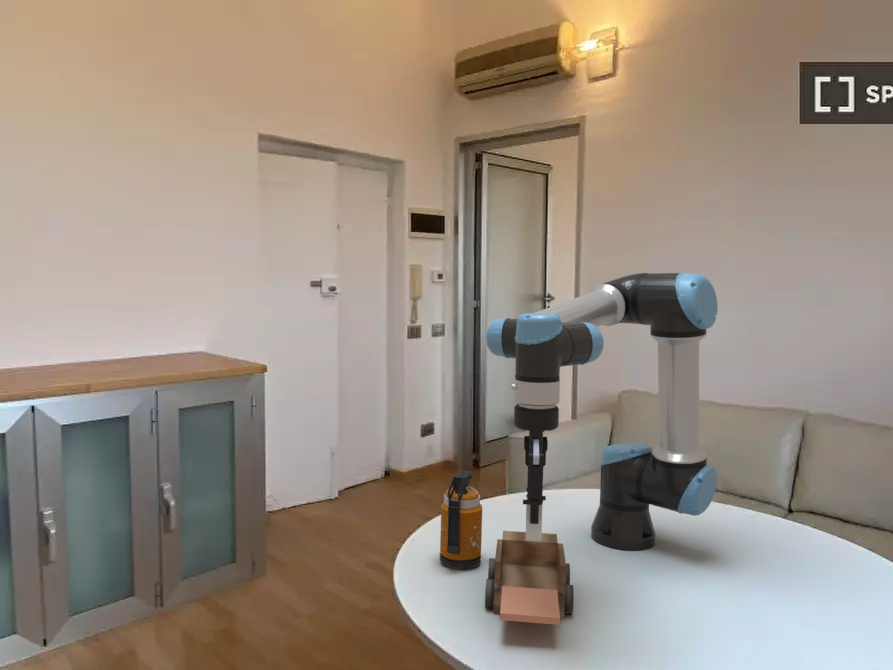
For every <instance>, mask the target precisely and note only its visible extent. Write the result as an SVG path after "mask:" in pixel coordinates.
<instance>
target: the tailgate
mask: <svg viewBox="0 0 893 670" xmlns="http://www.w3.org/2000/svg"><path fill="white" fill-rule="evenodd" d="M499 621H507V622H517V623H518V622H520V623H532V624H546V625H556V626H557V625H558V626H560V625H561V619H560V613H559V603H558V593H557V590H550V589H536V588H523V587H510V586H502V596H501V609H500V614H499Z"/></svg>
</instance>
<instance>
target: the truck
mask: <svg viewBox="0 0 893 670" xmlns="http://www.w3.org/2000/svg"><path fill="white" fill-rule="evenodd" d="M494 557H495V558H494ZM494 557H489V559H488V567H487V568H488V573H487V578H486V579H485V592H484V593H485V595H484V596H485V597H484V598H485V599H484V603H485V604H484V607H486V608H493V611H492V612H493V613H492V614H494V615H500V609H501V596H502V586H510V587H523V588H536V589H550V590H557V593H558V603H559V613H560V620H565V614H571V615H573V613H574V599H575V598H574V586H573V584H570V583H571V566H570V563H569V562H568V563H567V562H566V555H565V549H564V543H560V542H558V534H557V533H546V532H545V533H544V532H542V540H541V541H526V531H517V530H515V531H512V530H502V539H501V538H500V539H499V538H497V540H496V547H495V556H494Z"/></svg>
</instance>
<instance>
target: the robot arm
mask: <svg viewBox="0 0 893 670" xmlns="http://www.w3.org/2000/svg"><path fill="white" fill-rule="evenodd" d="M717 315H718V298H717V294H716V291H715V288H714V285H713V284H712V283H711V281H710V280H709V279H708V278H707V277H706V276H705V275H703V274H701V273H700V274H699V273H690V272H658V273H657V272H655V273H654V272H653V273H650V272H649V273H648V272H641V273H633V274H628V275H625V276H622V277H618V278H615V279H612V280H609V281H606V282H604V283H601V284H600V283H599V284H598V285H596V286H594V287H593V288H592V289H591V290H590V292H588V293H586V294H583V295H581V296H578V297H574V298H572V299H570V300H569V299H568V300H566V301H564V302H563V301H562V302H561V303H558V304H556V305H553V306H550V307H547V308H544V309H541V310H538V311H536V312H532V313H529V312H528V313H522V314H520V315H518V317H517V318H510V317H506V318H496V319H495V320H492V322H491V323H490V324H489V326H488V327H487V330H486V337H485V338H486V345H487V348H488V351H490V353H492V355H494V356H497V357H501V358H502V357H503V358H505V359H515V374H514V378H515V380H514V381H515V384H511V385H510V386H511V387H510V389H511V390H513V391H514V401H515V403H517V404H515V406H513V407H514V409H513V410H514V411H513V412H514V413H513V423H514V424H513V425H514V426H515V427H516V428H517V429H519V430H523V431H528V435H524V437H523V438H524V439H523V449H524V452H525V453H524V454H525V455H524V459H525V463H524V464H525V465H526V466H527V480H526V481H527V485H526V492H527V494H526V496H525V497H526V499H522V505H526V506H525V507H526V508H525V532H526V541H541V540H542V533H543V531H542V527H543V505H544V501H546V500H547V499H546V495H543V490H544V489H543V488H544V487H543V486H544V467H545V466H546V465H547V451H548V445H549V443H548V441H549V440H548V436H544V432H547V431H548V432H550V431H553V430H556V429H557V428H558V427H559V424H560V423H559V417H560V416H559V415H560V414H559V413H560V410H559V409H560V408H559V407H558V406H557V405H558V404H559V403H560V393H561V392H560V391H561V387H560V386H561V385H560V384H561V382H560V381H561V380H560V377H561V376H560V371H561V367H569V366H577V365H580V366H583V365H586V364H588V363H592V362H594V361H596V360H598V359H599V357H600V356H601V354H602V353H603V349H604V345H605V344H604V337H603V336H604V335H602V332H601V330H600V329H599V328H598V327H600V326H605V327H612V326H615V325H617V324H634V325H643V326H650V337H651V338H652V339H654V340H655V341H656V342H657V372H658V373H657V374H658V375H657V380H658V381H657V383H658V384H657V385H658V387H657V388H658V393H657V394H658V443H659V445H658V446H657V447H655V448H654V449H653V448H652V446H651V445H649V444H647V443H636V442H635V443H634V442H633V443H632V442H631V443H630V442H629V443H615V444H611V445H609V446H606V447H605V448H604V449H603V450H602V453H601V462H600V481H599V482H600V485H599V487H600V488H599V489H600V490H599V491H600V492H599V505H598V508H597V511H596V513H595V516H594V519H593V522H592V523H591V526H590V527H591V528H590V529H591V531H590V536H591V539H593V540H594V541H595V542H596V543H598V544H600V545H603V546H606V547H609V548H613V549H618V550H625V551H639V550H646V549H647V550H648V549H650V548H651V547H653V546H655V543H656V530H655V527H654V525H653V524H654V523H653V520H652V516H651V513H650V506H651V505H652V506H655V507H658V508H662V509H664V510H665V509H666V510H668V511H669V510H670V511H673V512H676V513H678V514H685V515H690V516H699V515H702V514H703V513H704V512H706V511H707V509H708V508H709V507H710V504H711V503H712V501H713V499H714V497H715V494H716V490H717V486H718V471H717V469H716V468H715V467H714V466H712V465H711V464H708V463H707V458H708V456H707V452H706V451H705V450H704V449H702V448H701V447H700V342H701V341H702V340H703V339H704V338H705V337H706V336H707V329H710V328H712V327H713V326H714V324H715V323H716V319H717V317H716V316H717Z"/></svg>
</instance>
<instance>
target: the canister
mask: <svg viewBox="0 0 893 670" xmlns="http://www.w3.org/2000/svg"><path fill="white" fill-rule="evenodd" d="M473 475H474V474H473V473H472V472H471V471H462V470H461V471H460V472H459V473H458V474H457V475H456V476H455V475H453V477H452V480H451V482H450V485H449V486H448V487H449V488H448V489H446V491H445V493H444V494H443V502H442V503H441V506H440V508H441V509H440V538H439V539H440V543H439V545H440V546H439V552H440V553H439V561H440V563H442V564H443V565H445V566H446V567H450V568H453V569H458V570H459V569H461V570H463V569H469V568H473V567H476V566H478V565H480V563H481V561H482V534H483V531H482V530H483V529H482V528H483V505H482V504H481V495H480V492H479V491H478V490H477V489H475V488H474V487H472V486H470V484H471V480H473Z"/></svg>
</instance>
